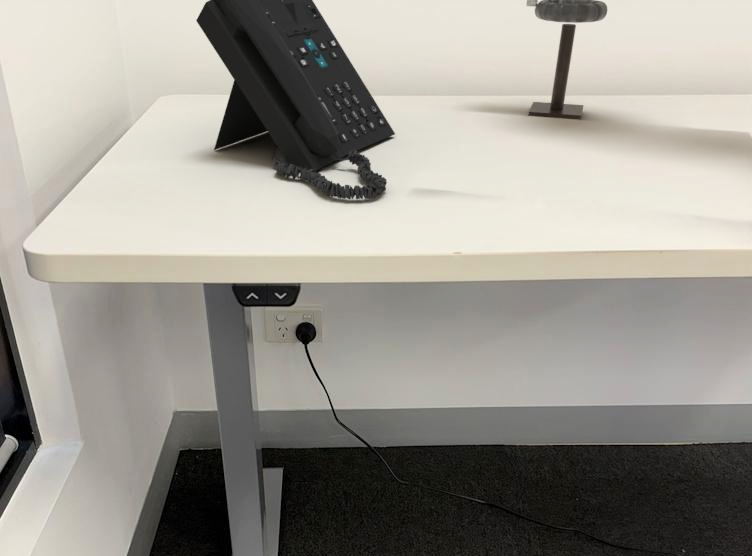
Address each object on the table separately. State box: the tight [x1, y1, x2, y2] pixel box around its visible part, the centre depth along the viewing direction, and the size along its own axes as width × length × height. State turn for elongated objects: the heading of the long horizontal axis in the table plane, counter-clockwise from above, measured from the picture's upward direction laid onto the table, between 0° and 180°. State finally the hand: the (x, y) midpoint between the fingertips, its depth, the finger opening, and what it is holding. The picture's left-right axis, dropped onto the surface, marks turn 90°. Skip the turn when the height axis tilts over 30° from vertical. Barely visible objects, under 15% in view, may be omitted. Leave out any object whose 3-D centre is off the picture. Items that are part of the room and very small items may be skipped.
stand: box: [527, 23, 584, 121], centre depth 116 cm, size 8×8×13 cm
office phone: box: [195, 0, 396, 200], centre depth 92 cm, size 29×28×20 cm
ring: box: [534, 0, 608, 24], centre depth 112 cm, size 10×10×2 cm
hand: (544, 6), depth 113 cm, fingers closed on ring, 2 cm apart
